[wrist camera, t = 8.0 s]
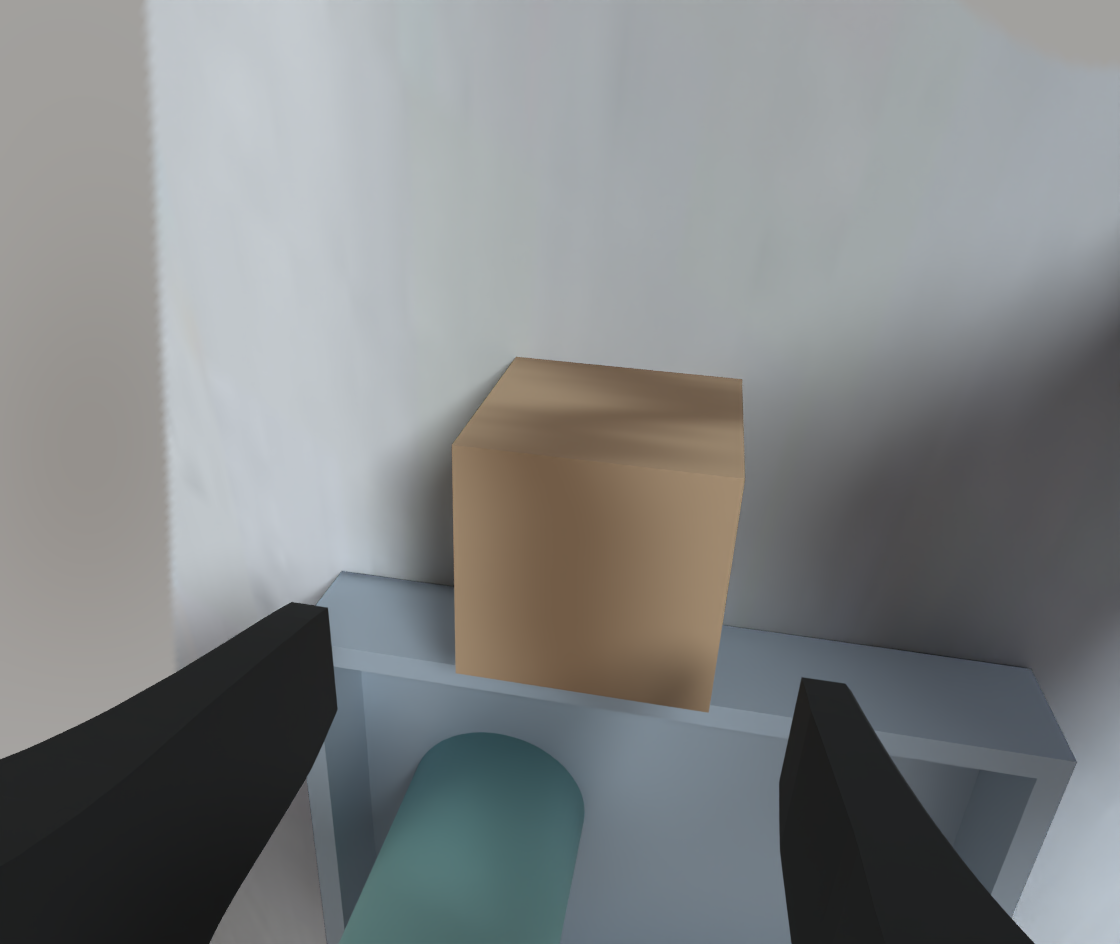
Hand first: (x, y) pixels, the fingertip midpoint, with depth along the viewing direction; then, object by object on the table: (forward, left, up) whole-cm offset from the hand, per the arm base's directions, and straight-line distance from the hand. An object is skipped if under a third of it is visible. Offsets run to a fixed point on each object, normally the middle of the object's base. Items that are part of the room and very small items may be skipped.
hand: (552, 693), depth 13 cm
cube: (0, 0, -8) cm, 8 cm away
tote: (-2, +10, -8) cm, 13 cm away
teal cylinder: (+3, +11, -7) cm, 13 cm away
